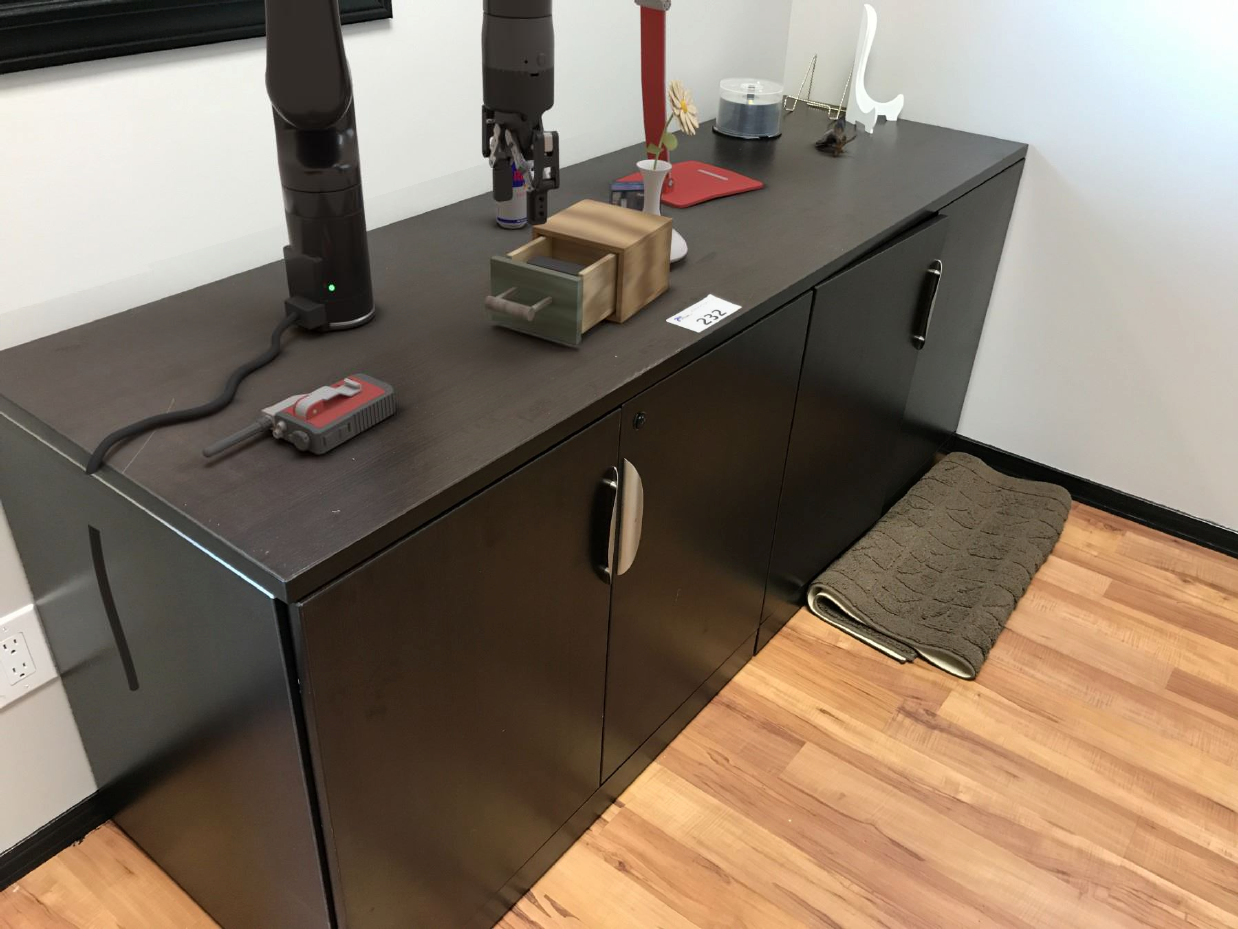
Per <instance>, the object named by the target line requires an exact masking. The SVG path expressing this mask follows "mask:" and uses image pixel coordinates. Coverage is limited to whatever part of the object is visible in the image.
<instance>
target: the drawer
mask: <svg viewBox="0 0 1238 929" xmlns="http://www.w3.org/2000/svg"><path fill="white" fill-rule="evenodd" d="M538 255H541V256H545V257H549V258H553V259H557V260H561V261H565V262H569V263H573V264H577V265H581V266H585V267H587V268H586V269H584V270H583V271H581V272H579V273H578V277H577V276H573V275H569V274H565V273H561V272H557V271H554V270H550V269H546V268H542V267H538V266H534V265H531V264H527V263H526V262H528V261H530V260H531V259H533V258H535V257H537V256H538ZM489 259H490V260H489V262H490V263H489V264H490V295H488V296H487V297H486V298H485V300H484V308H485V309H487V310H490V311H491V321H492V322H495V323H498V324H503V325H506V326H509V327H513V328H516V329H519V330H523V331H526V332H530V333H534V334H537V335H541V336H544V337H548V338H550V339H554V340H556V341H557V340H558V341H561V342H564V343H568V344H571V345H575V346H578V344H580V343H581V342H582V334H584V333H585V332H587V331H588V330H589V329H591V328H592V327H594V326H596V325H597V324H598V323H600V322H601V321H602V320H605V319H604V318H605V317H607V316H608V315H609V314H611V313H612V312H614V311H615V310H616V304H617V283H618V261H619V253H616V252H612V251H608V250H603V249H599V248H595V247H591V246H587V245H583V244H579V243H575V242H571V241H567V240H563V239H559V238H555V237H551V236H546V235H543V236H541V237H539V238H537V239H535V240H534V241H532V240H531V241H530V242H528V243H526V244H524V245H522V246H521V247H519V248H517V249H514V250H513V251H511V252H509V253H507V254H506V257H504V256H499V255H493V256H492V257H490V258H489Z"/></svg>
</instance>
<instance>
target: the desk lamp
mask: <svg viewBox="0 0 1238 929" xmlns="http://www.w3.org/2000/svg"><path fill="white" fill-rule="evenodd" d="M633 2H634V4H635V5H637V6H639V7H640V8H639V9H640V10H639V12H640V14H639V15H640V16H639V17H640V18H639V19H640V20H639V21H640V22H639V23H640V83H641V100H642V114H643V115H642V116H643V118H642V119H643V129H644V139H645V146H646V148H645V149H647V148H648V146H649V144H650V143H652V144H654V145H655V146H657V147H659V144H660V140H661V137H662V134H663V131H664V128H665V126H666V124H667V122H668V114H667V110H668V109H667V84H666V83H667V81H666V79H667V76H666V74H667V73H666V72H667V71H666V70H667V12H668V11H670V9H671V7H672V0H633ZM667 132H668V129H667V130H666V132H665V134H666V133H667ZM661 148H663V149H664V150H663V151H662V152H661V153H659V156H658V160H661V161H665V162H668V163H670V164H671V165H672V168H671V169H670V170H669V171H668V173H667V174H666V176H665V178H664V181H663V184H662V197H661V204H666V205H667V206H670V207H673V208H675V209H676V208H678V209H683V208H687V207H690V206H694V205H696V204H700V203H702V202H703V203H704V202H705V201H709V200H712V199H715V198H720V197H724V196H730V195H735V194H739V193H744V192H748V191H753V190H759V189H761V188H763V187H764V183H763V182H761V181H759V180H755V179H753V178H750V177H748V176H745V175H742V174H740V173H737V172H735V171H732V170H728V169H726V168H722V167H718V166H715V165H711V164H708V163H704V162H701V161H697V160H686V161H680V162H676V163H671V162H670V150H668V149H667V148H666V146H665V145H664V143H663V142H662V145H661ZM646 156H647V160H655V158H656V154H653V153H649V152H646ZM616 181H643V177H642V174H641V172H640V171H638V172H635V173H632V174H630V175H627V176H624V177H621V178H618V179H617V180H616Z"/></svg>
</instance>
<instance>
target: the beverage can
mask: <svg viewBox="0 0 1238 929" xmlns="http://www.w3.org/2000/svg"><path fill="white" fill-rule="evenodd" d="M509 167H511V168H512V169H513V198H512V199H511V200H510V201H503V202H497V201H496V200H494V207H495V208H494V210H495V212H494V213H495V221H496V222H497V223H498V224H499V225H500V226H501V227H502V228H505V229H520V228H522V227H524V226H525V224H527V218H526V191H528V190H527V187H526V184H525V180H524V177H523V174H522V173H520V172H518V170H517V168H516V164H515V161H513V163H512V165H511V166H509Z"/></svg>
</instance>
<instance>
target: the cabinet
mask: <svg viewBox="0 0 1238 929" xmlns="http://www.w3.org/2000/svg"><path fill="white" fill-rule="evenodd" d="M673 227H674V218H673V217H668V216H664V215H661V216H660V215H655V214H651V213H646V212H642V211H638V210H633V209H629V208H624V207H620V206H615V205H611V204H609V203H606V202H602V201H597V200H592V199H588V198H585V199H582V200H580V201H579V202H576V203H575V204H572V205H571V206H569V207H567V208H565V209H562V210H561V211H559V212H557V213H555V214H553V215H551V216H549V217H547V222H546V223H545V224H542V225H535V226H531V242H532V241H534V240H535V239H537V238H539V237H541V236H543V235H546V236H551V237H555V238H559V239H563V240H567V241H571V242H575V243H579V244H583V245H587V246H591V247H595V248H599V249H603V250H608V251H612V252H616V253H619V261H618V283H617V304H616V310H615V311H614V312H612V313H611V314H609V315H608V316H607V317H605V318H604V319H603V320H607V321H611V322H614V323H618V324H622V323H623V322H625V321H627V320H628V319H629V318H631V317H632V316H633V315H635V314H636V313H637V312H638V311H640V310H641V309H643V308H644V307H645V306H647V305H648V304H650V303H651V302H652V301H654V300H655V299H656V298H657V297H659V296H660V295H662V294H663V293H664V292H666V291H668V289H669V282H670V281H669V280H670V269H671V268H670V266H671V263H670V255H671V242H672V229H674V228H673Z"/></svg>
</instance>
